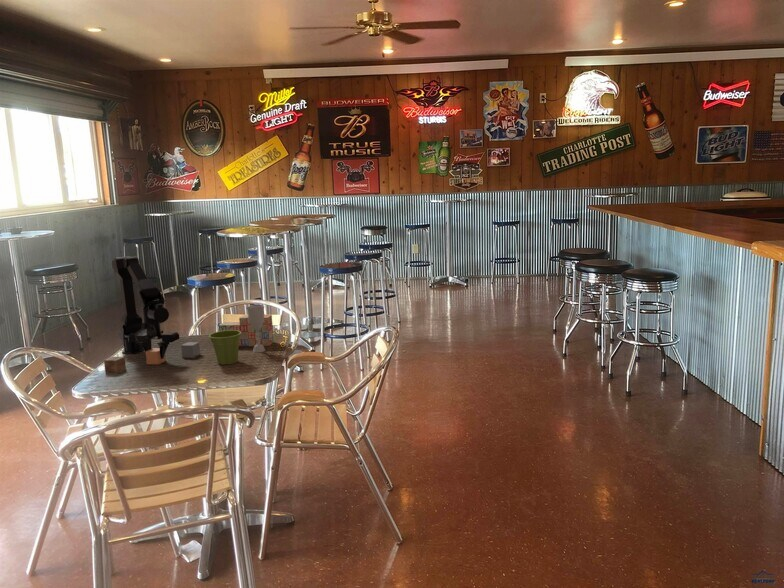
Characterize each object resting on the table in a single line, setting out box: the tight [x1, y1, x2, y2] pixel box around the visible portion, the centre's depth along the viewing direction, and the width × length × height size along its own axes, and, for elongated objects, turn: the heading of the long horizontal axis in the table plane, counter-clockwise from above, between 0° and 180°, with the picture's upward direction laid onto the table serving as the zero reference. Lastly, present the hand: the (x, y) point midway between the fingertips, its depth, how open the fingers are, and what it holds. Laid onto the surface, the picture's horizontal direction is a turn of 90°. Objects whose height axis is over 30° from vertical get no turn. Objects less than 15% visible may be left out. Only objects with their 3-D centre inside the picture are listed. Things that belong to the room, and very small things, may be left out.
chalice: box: [245, 304, 266, 353], centre depth 243 cm, size 7×7×18 cm
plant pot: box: [208, 330, 241, 366], centre depth 229 cm, size 12×12×11 cm
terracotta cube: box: [145, 347, 167, 365], centre depth 234 cm, size 5×5×5 cm
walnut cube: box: [103, 356, 127, 375], centre depth 224 cm, size 5×5×5 cm
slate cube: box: [180, 341, 201, 359], centre depth 241 cm, size 5×5×5 cm
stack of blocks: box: [218, 314, 275, 347], centre depth 255 cm, size 21×6×12 cm, turn 85°
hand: (156, 358), depth 234 cm, fingers closed on terracotta cube, 5 cm apart
